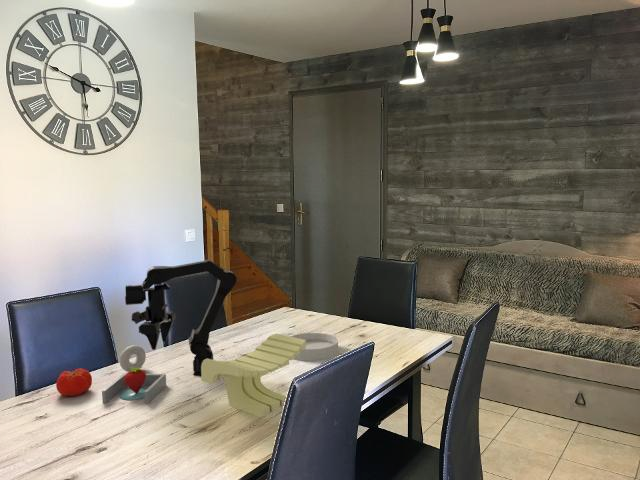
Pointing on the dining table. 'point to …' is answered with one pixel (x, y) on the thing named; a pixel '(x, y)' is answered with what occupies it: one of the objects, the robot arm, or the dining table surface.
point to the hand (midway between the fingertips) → (159, 345)
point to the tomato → (74, 382)
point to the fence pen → (152, 380)
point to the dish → (317, 347)
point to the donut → (128, 352)
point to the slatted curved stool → (254, 374)
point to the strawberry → (135, 379)
